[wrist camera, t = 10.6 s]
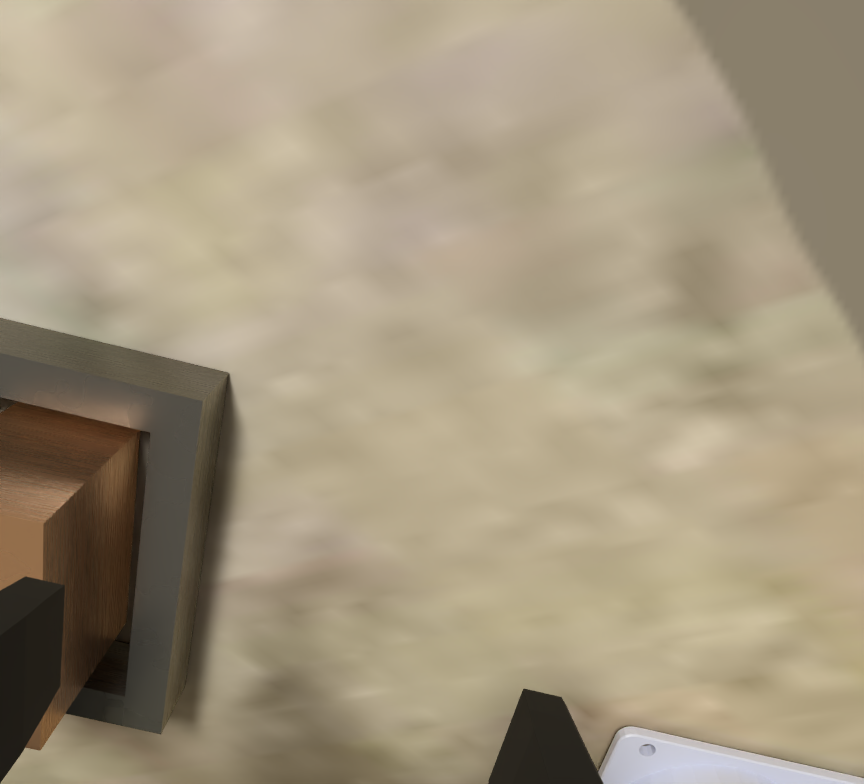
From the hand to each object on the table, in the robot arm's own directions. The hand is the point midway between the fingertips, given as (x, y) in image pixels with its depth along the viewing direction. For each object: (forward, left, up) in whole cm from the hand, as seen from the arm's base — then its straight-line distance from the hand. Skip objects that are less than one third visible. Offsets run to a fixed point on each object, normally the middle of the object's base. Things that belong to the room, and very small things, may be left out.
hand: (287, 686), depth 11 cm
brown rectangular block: (+8, +5, -10) cm, 13 cm away
